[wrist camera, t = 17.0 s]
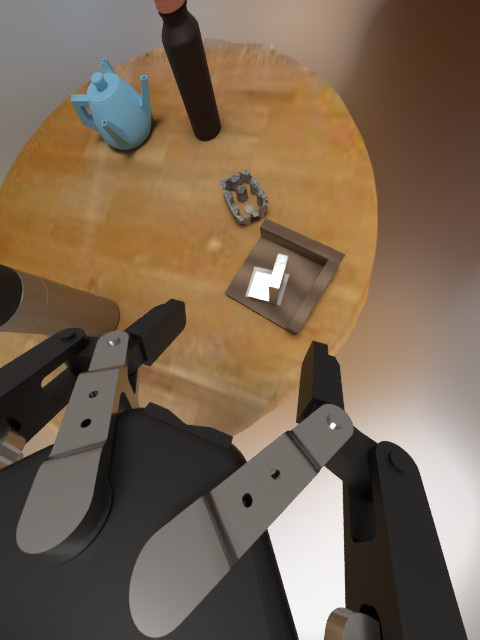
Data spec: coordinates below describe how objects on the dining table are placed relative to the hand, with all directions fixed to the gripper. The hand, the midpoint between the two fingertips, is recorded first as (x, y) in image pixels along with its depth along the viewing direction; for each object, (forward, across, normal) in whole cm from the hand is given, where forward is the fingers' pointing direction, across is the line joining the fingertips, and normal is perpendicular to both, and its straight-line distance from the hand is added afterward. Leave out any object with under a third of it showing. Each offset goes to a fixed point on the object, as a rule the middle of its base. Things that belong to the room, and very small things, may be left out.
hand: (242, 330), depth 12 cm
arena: (+28, 0, +9) cm, 29 cm away
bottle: (+52, +28, -14) cm, 60 cm away
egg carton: (+39, +12, -1) cm, 41 cm away
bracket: (+25, +2, +10) cm, 27 cm away
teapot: (+50, +49, -12) cm, 71 cm away
